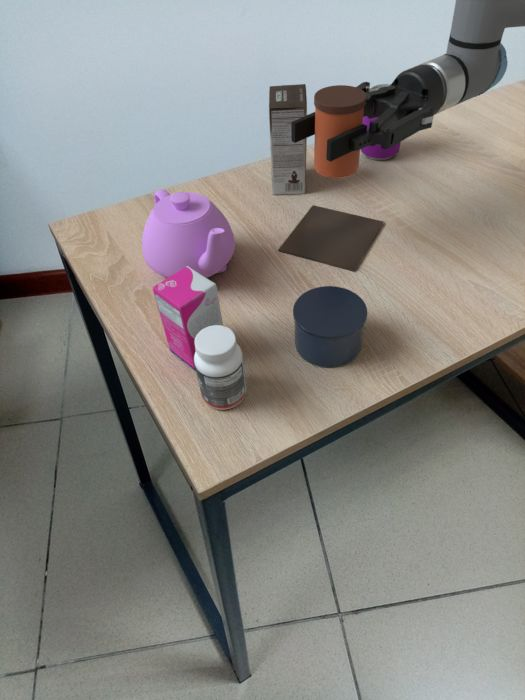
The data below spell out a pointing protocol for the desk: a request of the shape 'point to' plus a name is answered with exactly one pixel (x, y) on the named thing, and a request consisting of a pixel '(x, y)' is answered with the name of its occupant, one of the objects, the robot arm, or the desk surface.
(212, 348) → the pill bottle
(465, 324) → the desk surface
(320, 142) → the canister
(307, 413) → the desk surface
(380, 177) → the desk surface
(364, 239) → the plate
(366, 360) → the desk surface
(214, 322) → the supplement box
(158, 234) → the teapot
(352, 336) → the tin
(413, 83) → the robot arm
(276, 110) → the coffee box
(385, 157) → the beverage can
